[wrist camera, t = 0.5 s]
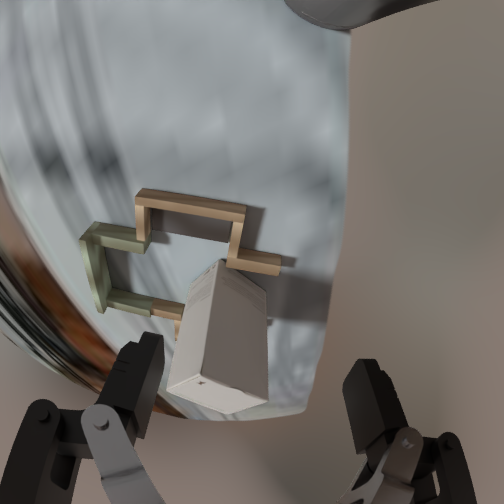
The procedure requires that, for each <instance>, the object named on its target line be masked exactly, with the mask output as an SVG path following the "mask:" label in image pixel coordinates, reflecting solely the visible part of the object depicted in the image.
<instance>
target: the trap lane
mask: <svg viewBox="0 0 504 504" xmlns="http://www.w3.org/2000/svg"><path fill="white" fill-rule="evenodd" d="M246 206H247V205H241V204H236V203H230V202H225V201H219V200H213V199H207V198H201V197H195V196H189V195H183V194H177V193H170V192H164V191H157V190H150V189H143V188H142V189H141V190H140V191H139V192H138V194H137V195H136V196H135V215H136V229H133V228H127V227H122V226H116V225H111V224H105V223H100V222H94V223H93V224H92V225H91V226H90V227H89V228H88V229H87V231H86V232H85V233H84V234H83V235H82V236H81V238H80V239H79V243H80V248H81V252H82V257H83V261H84V265H85V269H86V273H87V277H88V281H89V284H90V288H91V291H92V295H93V298H94V301H95V305H96V308H97V311H98V312H99V313H102V314H104V312H105V310H106V308H107V306H108V307H111V308H115V309H119V310H122V311H126V312H130V313H134V314H138V315H142V316H147V317H151V315H154V316H159V317H163V318H168V319H173V320H174V322H175V341H177V338H178V333H179V329H180V325H181V320H182V316H183V312H184V304H181V303H176V302H171V301H166V300H162V299H157V298H153V297H148V296H144V295H139V294H135V293H131V292H127V291H122V290H118V289H114V288H112V286H111V281H110V276H109V271H108V266H107V260H106V255H105V249H104V246H105V247H110V248H114V249H119V250H124V251H129V252H134V253H139V254H145V252H146V250H147V248H148V246H149V245H150V243H151V221H150V207H151V208H152V230H158V231H164V232H169V233H175V234H180V235H186V236H191V237H197V238H202V239H208V240H213V241H219V242H225V243H228V239H229V233H230V227H231V222H232V221H233V228H232V233H231V239H230V245H229V251H228V256H227V262H226V267H228V268H234V269H239V270H245V271H250V272H256V273H262V274H268V275H273V276H278V275H279V272H280V269H281V255H276V254H271V253H265V252H260V251H254V250H249V249H243V248H239V243H240V238H241V233H242V229H243V224H244V219H245V213H246Z"/></svg>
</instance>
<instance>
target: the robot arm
mask: <svg viewBox="0 0 504 504" xmlns="http://www.w3.org/2000/svg"><path fill="white" fill-rule="evenodd" d="M284 1H285V3H286V4H287V5H288V6H289V7H290V9H291V10H292V11H293V12H295V13H296V14H297V15H298V16H300V17H301V18H303V19H304V20H306V21H308V22H310V23H312V24H315V25H317V26H320V27H323V28H328V29H334V30H347V29H354V28H357V27H360V26H362V25H365V24H367V23H370V22H372V21H375V20H378V19H381V18H383V17H386V16H389V15H391V14H394V13H397V12H400V11H403V10H406V9H409V8H413V7H416V6H419V5H423V4H426V3H430V2H434V1H438V0H284ZM164 364H165V356H164V339H163V335H160V334H155V333H151V332H146V331H145V332H144V333H143V334H142V336H141V339H140V341H139V343H136V342H132V341H130V342H128V343H127V344H126V345H125V346H124V347H123V348H121V350H120V352H119V354H118V356H117V358H116V361H115V362H114V365H113V367H112V370H111V371H110V373H109V375H108V378H107V380H106V382H105V384H104V387H103V389H102V391H101V393H100V396H99V398H98V400H97V401H96V403H95V404H94V405H92V406H90V407H88V408H87V409H85V410H66V409H58V408H57V406H56V405H55V404H54V403H53V402H51V401H49V400H46V399H40V400H36V401H34V402H33V403H31V405H30V406H29V407H28V410H27V412H26V414H25V416H24V419H23V421H22V423H21V426H20V428H19V431H18V433H17V436H16V438H15V441H14V444H13V446H12V449H11V452H10V455H9V458H8V461H7V464H6V467H5V470H4V473H3V477H2V480H1V484H0V504H71V501H72V497H73V492H74V487H75V483H76V478H77V475H78V470H79V467H80V463H81V459H82V458H85V459H94V460H95V463H96V465H97V468H98V470H99V472H100V475H101V483H102V486H103V488H104V490H105V492H106V494H107V496H108V498H109V500H110V502H111V504H166V503H165V502H164V500H163V499H162V497H161V496H160V494H159V492H158V491H157V489H156V488H155V486H154V484H153V483H152V481H151V479H150V478H149V476H148V474H147V472H146V471H145V469H144V467H143V465H142V463H141V462H140V459H139V457H138V456H137V454H136V452H135V450H134V444H135V441H136V437H138V438H141V439H144V437H145V434H146V430H147V426H148V423H149V419H150V416H151V412H152V408H153V405H154V401H155V398H156V395H157V391H158V388H159V385H160V381H161V378H162V375H163V371H164ZM394 389H395V388H394V385H393V383H392V381H391V378H390V377H389V376H388V375H387V374H386V373H385V371H384V370H382V371H381V370H380V367H379V365H378V362H377V361H376V360H375V359H358V360H357V361H356V362H355V364H354V366H353V367H352V369H351V371H350V372H349V374H348V375H347V377H346V378H345V381H344V383H343V389H342V390H343V396H344V400H345V404H346V408H347V412H348V417H349V421H350V426H351V430H352V435H353V439H354V444H355V449H356V454H364V453H366V455H367V458H366V459H365V460H364V462H363V464H362V466H361V467H360V469H359V471H358V473H357V474H356V476H355V478H354V480H353V482H352V483H351V485H350V486H349V488H348V490H347V491H346V492H345V494H344V495H343V496H342V497H341V498H339V499H338V501H337V502H336V503H335V504H477V501H476V497H475V492H474V488H473V484H472V480H471V476H470V473H469V469H468V466H467V462H466V459H465V456H464V452H463V449H462V446H461V443H460V441H459V439H458V437H457V436H456V435H455V434H453V433H451V432H445V433H443V434H442V435H441V436H439V437H438V438H429V437H422V435H421V434H420V433H419V431H418V430H416V429H415V428H412V427H409V426H408V423H407V420H406V417H405V415H404V412H403V409H402V407H401V404H400V401H399V398H397V393H396V391H395V390H394ZM434 471H436V473H437V478H438V482H439V486H440V493H439V496H437V494H436V489H435V484H434V480H433V475H432V473H433V472H434Z"/></svg>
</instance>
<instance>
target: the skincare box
mask: <svg viewBox="0 0 504 504" xmlns="http://www.w3.org/2000/svg"><path fill="white" fill-rule="evenodd" d="M166 391H167V392H170V393H172V394H174V395H177V396H179V397H182V398H184V399H187V400H189V401H192V402H195V403H197V404H200V405H203V406H205V407H208V408H211V409H214V410H216V411H219V412H222V413H225V414H231V413H235V412H238V411H241V410H244V409H247V408H249V407H253V406H256V405H259V404H262V403H265V402H268V347H267V305H266V291H264V290H263V289H261V288H260V287H259V286H257V285H256V284H254V283H253V282H252V281H250V280H249V279H248V278H246V277H245V276H243V275H242V274H241V273H239V272H238V271H236V270H235V269H234V268H228V267H226V263H225V262H224V261H223V260H221V259H219V260H218V261H217V262H216V263H214V264H213V265H212V266H211V267H210V268H209V269H207V270H206V271H205V272H204V273H203V274H202V275H200V276H199V277H198V278H197V279H196V280H195V281H194V282H192V283H191V284H190V288H189V292H188V296H187V300H186V304H185V308H184V312H183V316H182V320H181V325H180V329H179V333H178V338H177V342H176V347H175V351H174V356H173V360H172V365H171V369H170V375H169V379H168V384H167V389H166Z"/></svg>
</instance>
